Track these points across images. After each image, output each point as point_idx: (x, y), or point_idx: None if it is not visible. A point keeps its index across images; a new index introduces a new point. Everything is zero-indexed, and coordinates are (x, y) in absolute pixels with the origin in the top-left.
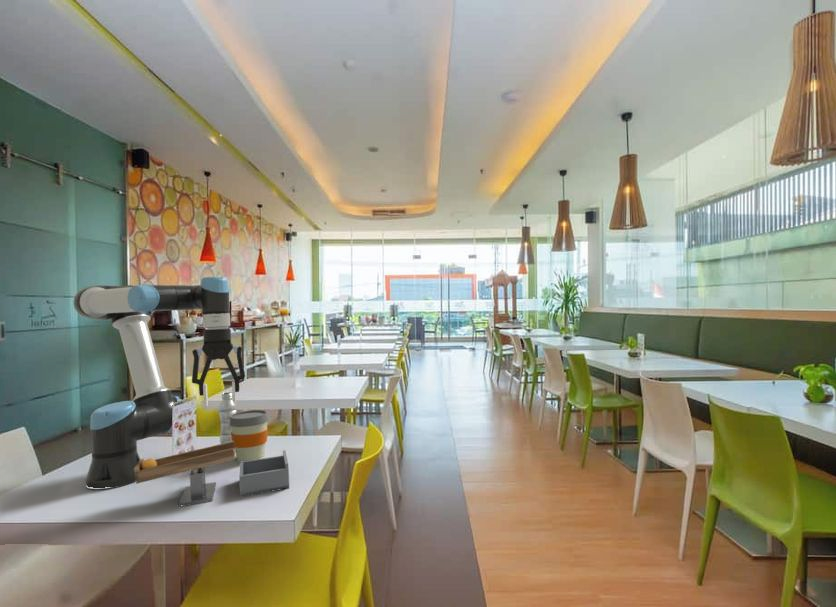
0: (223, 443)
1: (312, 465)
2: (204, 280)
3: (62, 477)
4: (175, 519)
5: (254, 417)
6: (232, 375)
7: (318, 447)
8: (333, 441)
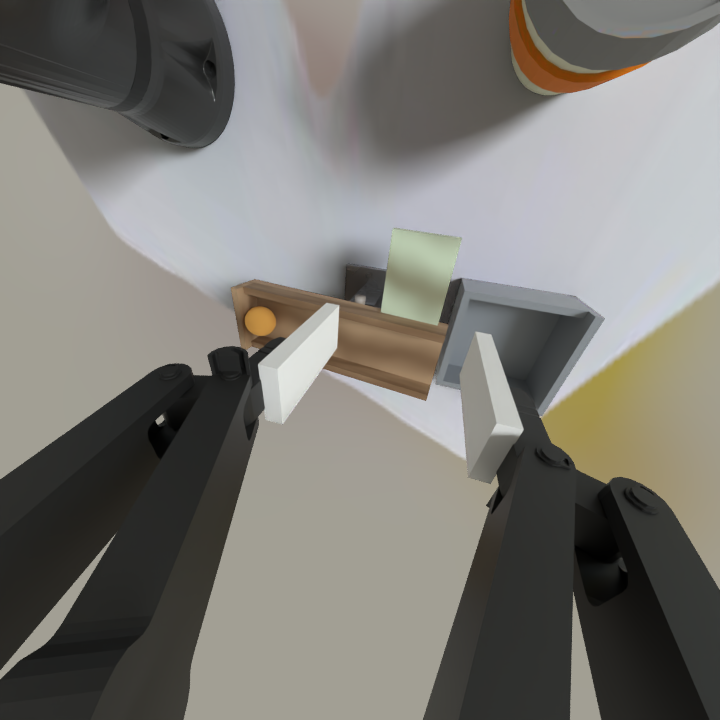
0: (429, 235)
1: (675, 283)
2: None
3: None
4: (342, 379)
5: (681, 31)
6: (483, 538)
7: None
8: None
